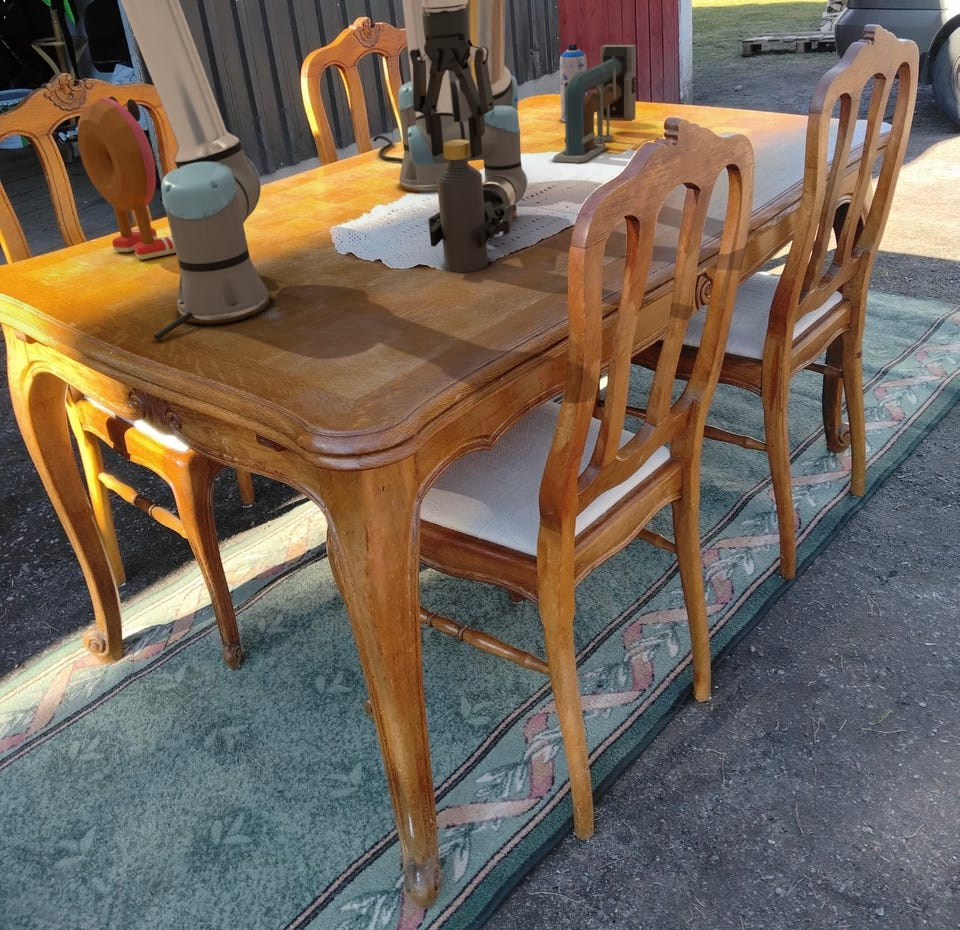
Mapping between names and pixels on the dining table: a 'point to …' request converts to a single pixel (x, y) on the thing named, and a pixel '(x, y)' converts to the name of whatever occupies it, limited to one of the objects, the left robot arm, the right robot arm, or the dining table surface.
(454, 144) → the cap
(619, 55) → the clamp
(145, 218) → the toy
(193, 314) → the left robot arm
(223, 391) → the dining table surface
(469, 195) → the bottle
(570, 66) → the aerosol can
